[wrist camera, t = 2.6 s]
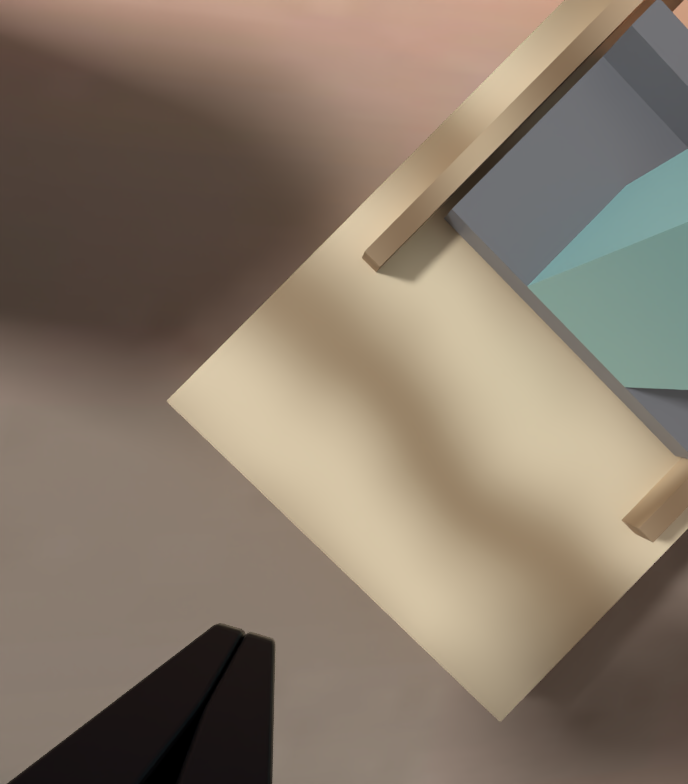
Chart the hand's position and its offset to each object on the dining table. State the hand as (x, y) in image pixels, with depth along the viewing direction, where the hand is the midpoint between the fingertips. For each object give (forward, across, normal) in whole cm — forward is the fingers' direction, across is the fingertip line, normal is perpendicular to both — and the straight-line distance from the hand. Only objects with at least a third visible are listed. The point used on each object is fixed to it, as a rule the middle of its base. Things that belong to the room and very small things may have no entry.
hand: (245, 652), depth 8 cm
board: (+15, -5, -1) cm, 16 cm away
